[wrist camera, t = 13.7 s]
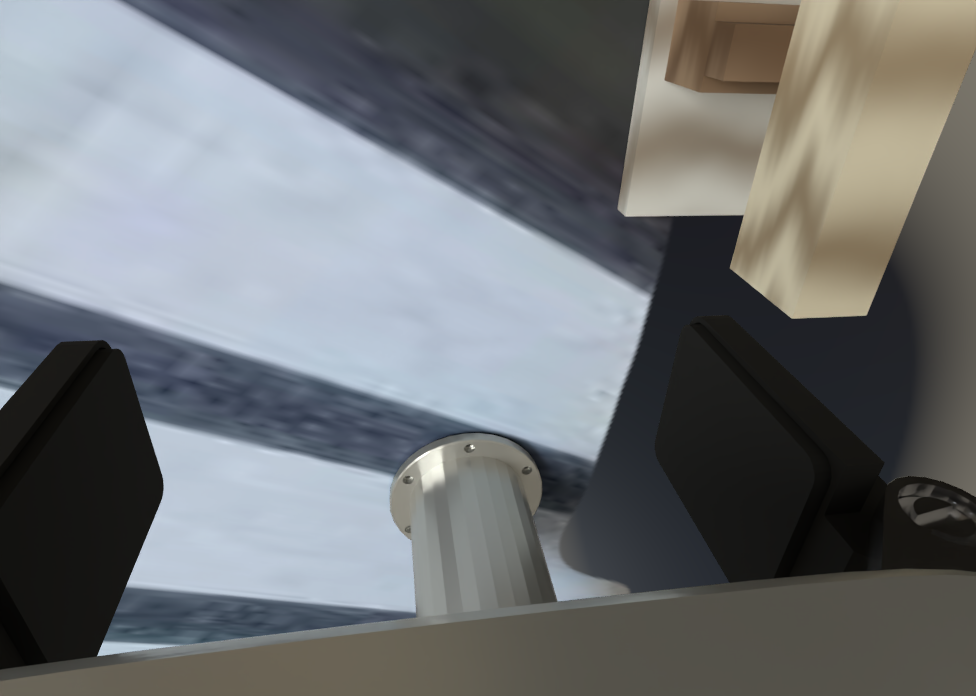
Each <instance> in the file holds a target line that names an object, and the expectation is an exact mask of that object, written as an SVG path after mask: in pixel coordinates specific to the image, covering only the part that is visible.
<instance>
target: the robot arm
mask: <svg viewBox="0 0 976 696" xmlns="http://www.w3.org/2000/svg"><path fill="white" fill-rule="evenodd" d="M655 451H656V456H657V459H658V461H659V463H660V465H661V466H662V468H663V470H664V472H665V473H666V475H667V477H668V478H669V480H670V482H671V484H672V485H673V487H674V489H675V490H676V492H677V494H678V495H679V497H680V499H681V501H682V502H683V504H684V505H685V507H686V509H687V511H688V513H689V514H690V516H691V518H692V519H693V521H694V523H695V524H696V526H697V528H698V530H699V531H700V533H701V535H702V536H703V538H704V540H705V541H706V543H707V545H708V547H709V548H710V550H711V552H712V553H713V555H714V557H715V558H716V560H717V562H718V564H719V565H720V567H721V569H722V570H723V572H724V574H725V575H726V577H727V579H728V581H729V582H730V583H725V584H716V585H707V586H697V587H688V588H679V589H671V590H670V589H669V590H661V591H651V592H641V593H632V594H623V595H614V596H605V597H595V598H586V599H577V600H568V601H559V602H558V601H557V598H556V595H555V591H554V588H553V584H552V581H551V577H550V574H549V571H548V567H547V564H546V560H545V557H544V553H543V550H542V547H541V543H540V540H539V536H538V533H537V529H536V526H535V523H534V519H533V515H534V514H535V512H536V510H537V508H538V506H539V504H540V500H541V496H542V480H541V477H540V473H539V470H538V468H537V465H536V463H535V461H534V460H533V458H532V457H531V456H530V454H529V453H528V452H527V451H526V450H524V449H523V448H522V447H521V446H520V445H518V444H516V443H514V442H512V441H510V440H508V439H506V438H503V437H499V436H496V435H491V434H483V433H465V434H459V435H453V436H448V437H446V438H443V439H440V440H437V441H434V442H432V443H430V444H428V445H426V446H424V447H422V448H421V449H419V450H418V451H417V452H415V453H414V454H413V455H411V456H410V457H409V458H408V459H407V460H406V461H405V462H404V463H403V465H402V466H401V467H400V468H399V470H398V472H397V473H396V475H395V477H394V479H393V482H392V485H391V488H390V511H391V514H392V517H393V520H394V522H395V524H396V525H397V527H398V529H399V530H400V531H401V532H402V533H403V534H404V535H405V536H406V537H407V538H408V539H410V540H412V556H413V572H414V587H415V603H416V618H410V619H401V620H393V621H384V622H375V623H367V624H358V625H350V626H341V627H333V628H324V629H316V630H308V631H299V632H291V633H283V634H274V635H266V636H258V637H249V638H241V639H232V640H224V641H216V642H207V643H199V644H191V645H182V646H174V647H166V648H157V649H149V650H142V651H134V652H127V653H119V654H112V655H105V656H97V655H98V652H99V650H100V647H101V645H102V643H103V640H104V638H105V635H106V633H107V631H108V628H109V626H110V623H111V621H112V618H113V616H114V614H115V611H116V609H117V606H118V604H119V601H120V599H121V597H122V594H123V592H124V589H125V587H126V585H127V582H128V580H129V577H130V575H131V572H132V570H133V568H134V565H135V563H136V560H137V558H138V556H139V553H140V551H141V548H142V546H143V543H144V541H145V539H146V536H147V534H148V531H149V529H150V527H151V524H152V522H153V519H154V517H155V514H156V512H157V510H158V507H159V505H160V502H161V500H162V496H163V478H162V474H161V471H160V467H159V464H158V461H157V458H156V455H155V452H154V448H153V445H152V442H151V439H150V436H149V432H148V429H147V426H146V423H145V420H144V417H143V413H142V410H141V407H140V404H139V401H138V398H137V394H136V391H135V388H134V385H133V382H132V378H131V375H130V372H129V369H128V366H127V363H126V359H125V357H124V354H123V353H122V351H121V350H119V349H111V347H110V346H109V344H108V343H107V342H105V341H103V340H97V341H73V342H61V343H59V344H58V345H57V346H56V347H55V348H54V349H53V350H52V351H51V353H50V354H49V355H48V356H47V357H46V358H45V359H44V361H43V362H42V363H41V364H40V365H39V366H38V367H37V369H36V370H35V371H34V372H33V373H32V374H31V375H30V376H29V378H28V379H27V380H26V381H25V382H24V383H23V384H22V386H21V387H20V388H19V389H18V390H17V391H16V392H15V394H14V395H13V396H12V397H11V398H10V399H9V400H8V402H7V403H6V404H5V405H4V406H3V407H2V408H1V410H0V696H976V497H975V496H973V495H971V494H969V493H968V492H966V491H964V490H962V489H960V488H957V487H955V486H952V485H950V484H948V483H945V482H942V481H938V480H934V479H930V478H926V477H916V476H907V477H901V478H896V479H895V480H893V481H892V482H890V483H889V484H888V485H887V484H886V483H885V482H884V481H883V480H882V479H881V478H880V477H879V476H878V475H879V473H880V471H881V469H882V467H883V465H884V462H883V461H882V460H881V459H880V458H879V457H878V456H877V455H876V454H874V452H873V451H872V450H871V449H869V448H868V447H867V446H866V445H865V444H864V443H863V442H862V441H861V440H860V439H859V438H858V437H857V436H856V435H855V434H854V433H853V432H852V431H850V429H848V428H847V427H846V426H845V425H844V424H843V423H842V422H841V421H840V420H839V419H838V418H837V417H836V416H835V415H834V414H833V413H832V412H831V411H829V410H828V409H827V408H826V407H825V406H824V405H823V404H822V403H821V402H820V401H819V400H818V399H817V398H816V397H815V396H814V395H813V394H811V393H810V392H809V391H808V390H807V389H806V388H805V387H804V386H803V385H802V384H801V383H800V382H799V381H798V380H797V379H796V378H795V377H794V376H793V375H791V374H790V373H789V372H788V371H787V370H786V369H785V368H784V367H783V366H782V365H781V364H780V363H779V362H778V361H777V360H776V359H774V357H772V356H771V355H770V354H769V353H768V352H767V351H766V350H765V349H764V348H763V347H762V346H761V345H760V344H759V343H758V342H757V341H756V340H755V339H753V338H752V337H751V336H750V335H749V334H748V333H747V332H746V331H745V330H744V329H743V328H742V327H741V326H740V325H739V324H738V323H736V321H735V320H733V319H732V318H731V317H729V316H726V315H724V316H723V315H722V316H697V317H695V318H693V320H692V321H691V323H690V325H685V326H684V327H683V329H682V331H681V334H680V338H679V342H678V347H677V350H676V355H675V359H674V363H673V367H672V372H671V376H670V380H669V384H668V389H667V393H666V397H665V402H664V406H663V410H662V414H661V418H660V423H659V427H658V431H657V435H656V440H655Z"/></svg>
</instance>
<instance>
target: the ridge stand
mask: <svg viewBox="0 0 976 696" xmlns="http://www.w3.org/2000/svg"><path fill="white" fill-rule="evenodd" d="M800 4H801V0H650V3H649V9H648V16H647V22H646V28H645V35H644V41H643V48H642V54H641V61H640V67H639V74H638V80H637V87H636V93H635V100H634V106H633V112H632V119H631V125H630V132H629V138H628V145H627V151H626V158H625V164H624V171H623V177H622V184H621V190H620V196H619V203H618V210H619V211H620V212H621V213H622V214H623V215H624V216H702V215H744V214H745V210H746V206H747V202H748V199H749V195H750V191H751V187H752V184H753V180H754V176H755V172H756V169H757V165H758V161H759V157H760V154H761V150H762V146H763V142H764V139H765V135H766V131H767V127H768V124H769V120H770V116H771V112H772V109H773V105H774V101H775V97H776V94H777V90H778V86H779V82H780V79H781V75H782V71H783V67H784V64H785V60H786V56H787V52H788V49H789V45H790V41H791V37H792V34H793V30H794V26H795V22H796V19H797V15H798V11H799V7H800Z"/></svg>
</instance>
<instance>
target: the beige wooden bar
mask: <svg viewBox="0 0 976 696" xmlns="http://www.w3.org/2000/svg"><path fill="white" fill-rule="evenodd" d="M975 49H976V0H801V4H800V7H799V11H798V15H797V19H796V22H795V26H794V30H793V34H792V37H791V41H790V45H789V49H788V52H787V56H786V60H785V64H784V67H783V71H782V75H781V79H780V82H779V86H778V90H777V94H776V97H775V101H774V105H773V109H772V112H771V116H770V120H769V124H768V127H767V131H766V135H765V139H764V142H763V146H762V150H761V154H760V157H759V161H758V165H757V169H756V172H755V176H754V180H753V184H752V187H751V191H750V195H749V199H748V202H747V206H746V210H745V214H744V218H743V222H742V225H741V229H740V232H739V236H738V240H737V244H736V248H735V251H734V255H733V259H732V262H731V266H730V269H732V270H733V271H734V272H735V273H736V274H738V275H739V276H740V277H741V278H743V279H744V280H745V281H747V282H748V283H749V284H750V285H751V286H752V287H754V288H755V289H756V290H757V291H759V292H760V293H761V294H762V295H764V296H765V297H766V298H767V299H768V300H770V301H771V302H772V303H773V304H775V305H776V306H777V307H778V308H780V309H781V310H782V311H783V312H784V313H786V314H787V315H788V316H789V317H791V318H792V319H793V318H818V317H841V316H866V315H867V313H868V310H869V308H870V305H871V303H872V300H873V298H874V296H875V293H876V291H877V288H878V286H879V283H880V281H881V279H882V276H883V274H884V271H885V269H886V266H887V264H888V262H889V259H890V257H891V254H892V252H893V249H894V247H895V244H896V242H897V239H898V237H899V235H900V232H901V230H902V227H903V225H904V222H905V220H906V218H907V215H908V213H909V210H910V208H911V205H912V203H913V201H914V198H915V195H916V193H917V191H918V188H919V186H920V183H921V181H922V179H923V176H924V174H925V171H926V168H927V166H928V164H929V161H930V159H931V157H932V154H933V152H934V149H935V147H936V144H937V142H938V140H939V137H940V135H941V132H942V129H943V127H944V125H945V122H946V120H947V117H948V115H949V113H950V110H951V108H952V105H953V103H954V100H955V98H956V96H957V93H958V91H959V88H960V86H961V83H962V81H963V79H964V76H965V74H966V71H967V69H968V66H969V64H970V61H971V59H972V57H973V54H974V52H975Z"/></svg>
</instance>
